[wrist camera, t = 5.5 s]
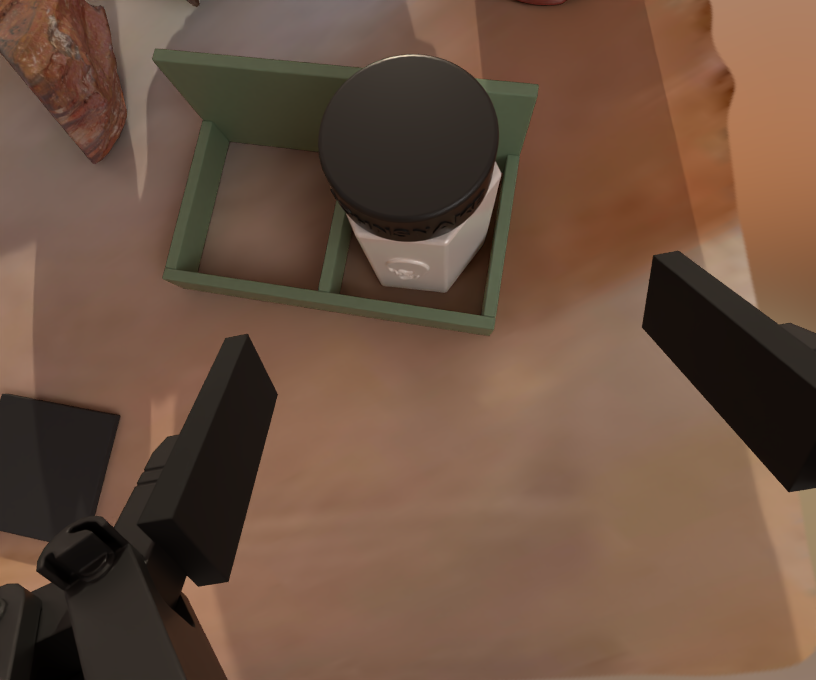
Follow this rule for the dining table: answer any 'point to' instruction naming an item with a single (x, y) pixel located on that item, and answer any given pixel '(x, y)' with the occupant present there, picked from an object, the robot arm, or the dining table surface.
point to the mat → (50, 464)
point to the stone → (67, 67)
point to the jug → (194, 2)
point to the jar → (413, 167)
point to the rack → (298, 129)
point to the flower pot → (543, 2)
